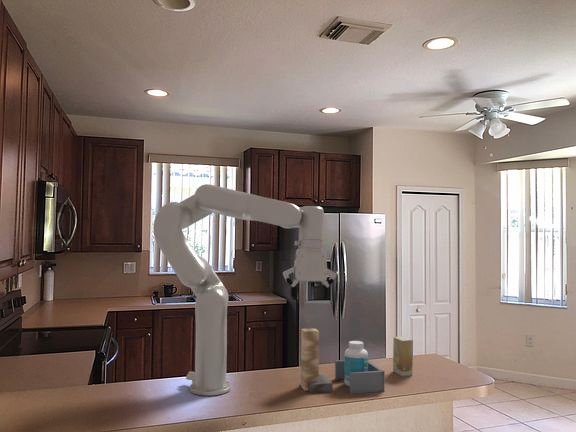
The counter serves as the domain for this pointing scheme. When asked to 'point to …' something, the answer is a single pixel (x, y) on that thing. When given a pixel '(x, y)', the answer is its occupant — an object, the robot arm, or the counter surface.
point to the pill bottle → (355, 359)
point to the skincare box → (403, 356)
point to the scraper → (312, 363)
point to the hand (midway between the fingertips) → (309, 299)
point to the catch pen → (362, 378)
